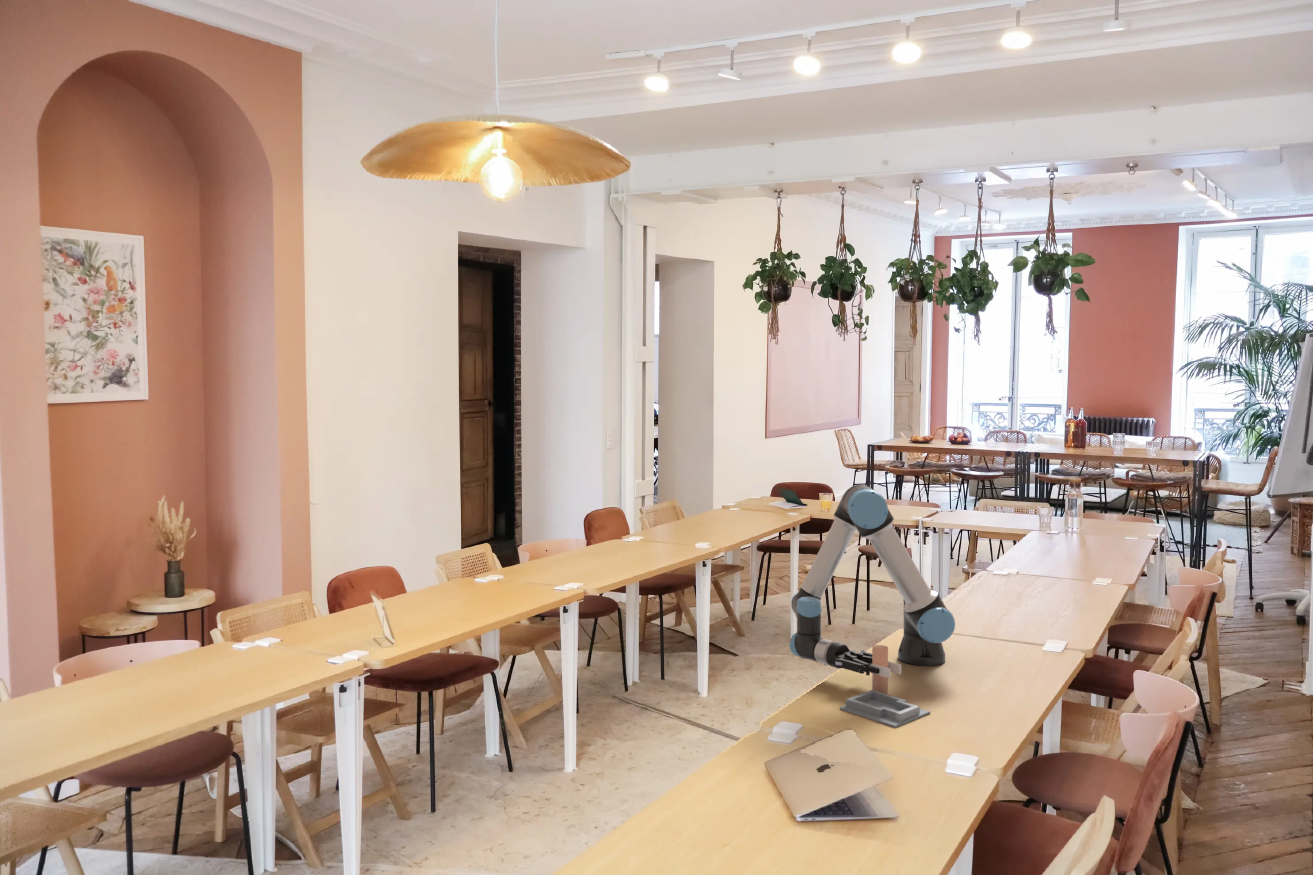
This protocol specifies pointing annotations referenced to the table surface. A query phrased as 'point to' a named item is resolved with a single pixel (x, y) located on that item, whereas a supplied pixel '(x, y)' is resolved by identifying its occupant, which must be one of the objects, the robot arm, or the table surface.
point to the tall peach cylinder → (880, 659)
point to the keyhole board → (883, 708)
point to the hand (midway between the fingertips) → (894, 671)
